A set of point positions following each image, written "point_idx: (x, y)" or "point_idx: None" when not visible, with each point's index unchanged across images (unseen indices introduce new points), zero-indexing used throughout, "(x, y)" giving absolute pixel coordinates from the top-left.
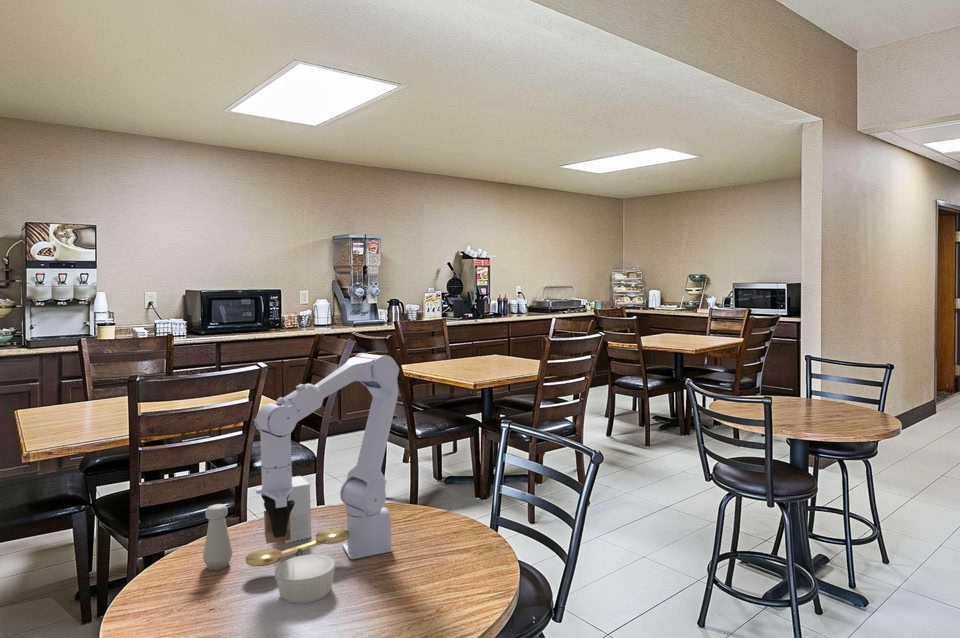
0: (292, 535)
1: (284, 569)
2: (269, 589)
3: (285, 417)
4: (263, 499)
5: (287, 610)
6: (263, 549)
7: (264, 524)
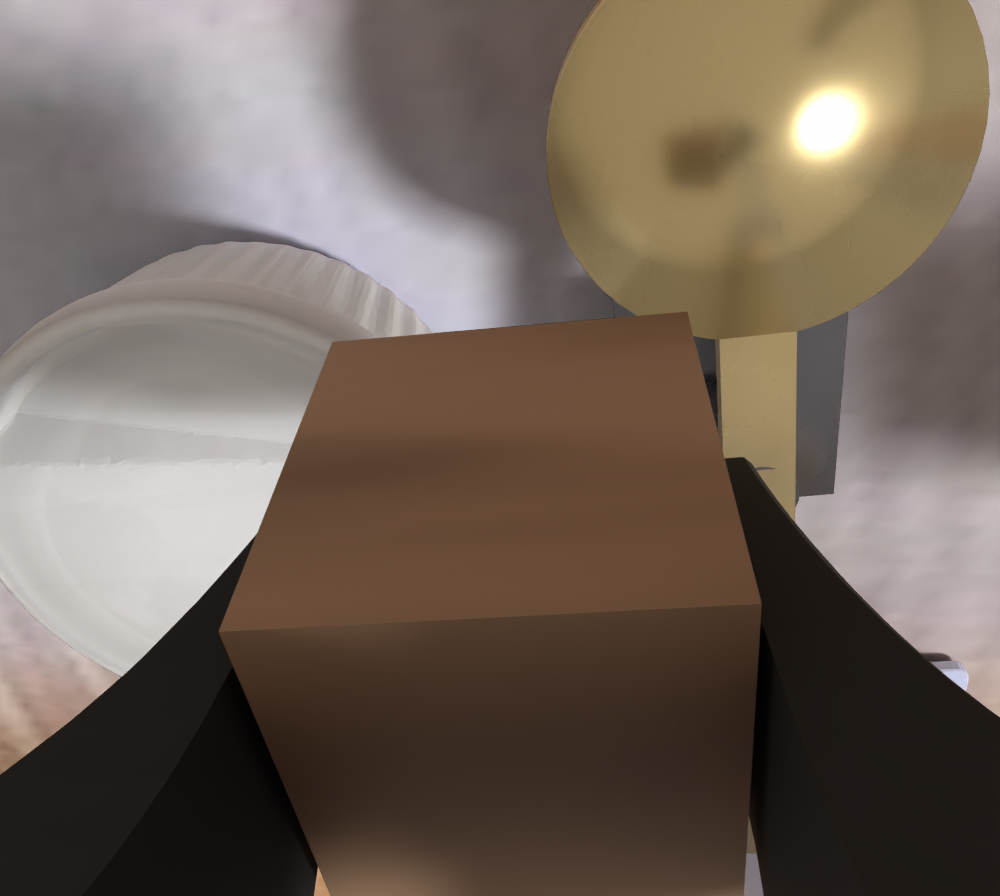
0: None
1: (248, 375)
2: (401, 140)
3: None
4: (860, 887)
5: (12, 284)
6: (977, 137)
7: (700, 415)
